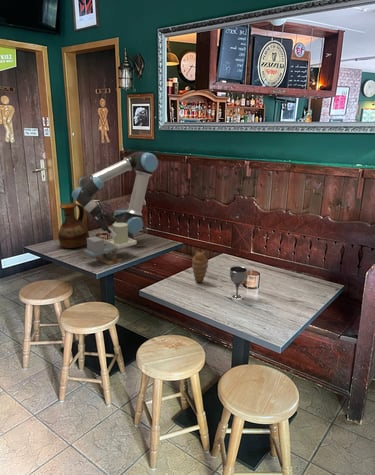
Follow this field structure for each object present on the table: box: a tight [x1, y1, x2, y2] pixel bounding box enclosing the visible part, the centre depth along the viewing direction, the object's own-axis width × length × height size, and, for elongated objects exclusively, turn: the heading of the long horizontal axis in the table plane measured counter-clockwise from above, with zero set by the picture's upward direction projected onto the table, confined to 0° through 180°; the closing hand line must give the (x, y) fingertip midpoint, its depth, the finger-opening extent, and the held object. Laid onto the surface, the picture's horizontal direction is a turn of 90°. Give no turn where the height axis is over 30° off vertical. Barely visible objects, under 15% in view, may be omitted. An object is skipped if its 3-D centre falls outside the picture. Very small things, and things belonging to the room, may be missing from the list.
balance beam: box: [83, 236, 137, 257], centre depth 229 cm, size 30×14×8 cm, turn 134°
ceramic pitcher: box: [57, 202, 90, 249], centre depth 253 cm, size 20×20×30 cm
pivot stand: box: [95, 250, 124, 266], centre depth 231 cm, size 10×15×8 cm, turn 44°
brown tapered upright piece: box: [191, 250, 209, 284], centre depth 199 cm, size 9×8×18 cm
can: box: [112, 223, 129, 245], centre depth 233 cm, size 9×9×12 cm
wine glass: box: [229, 265, 248, 299], centre depth 183 cm, size 8×8×15 cm
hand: (118, 233), depth 233 cm, fingers open, 13 cm apart
